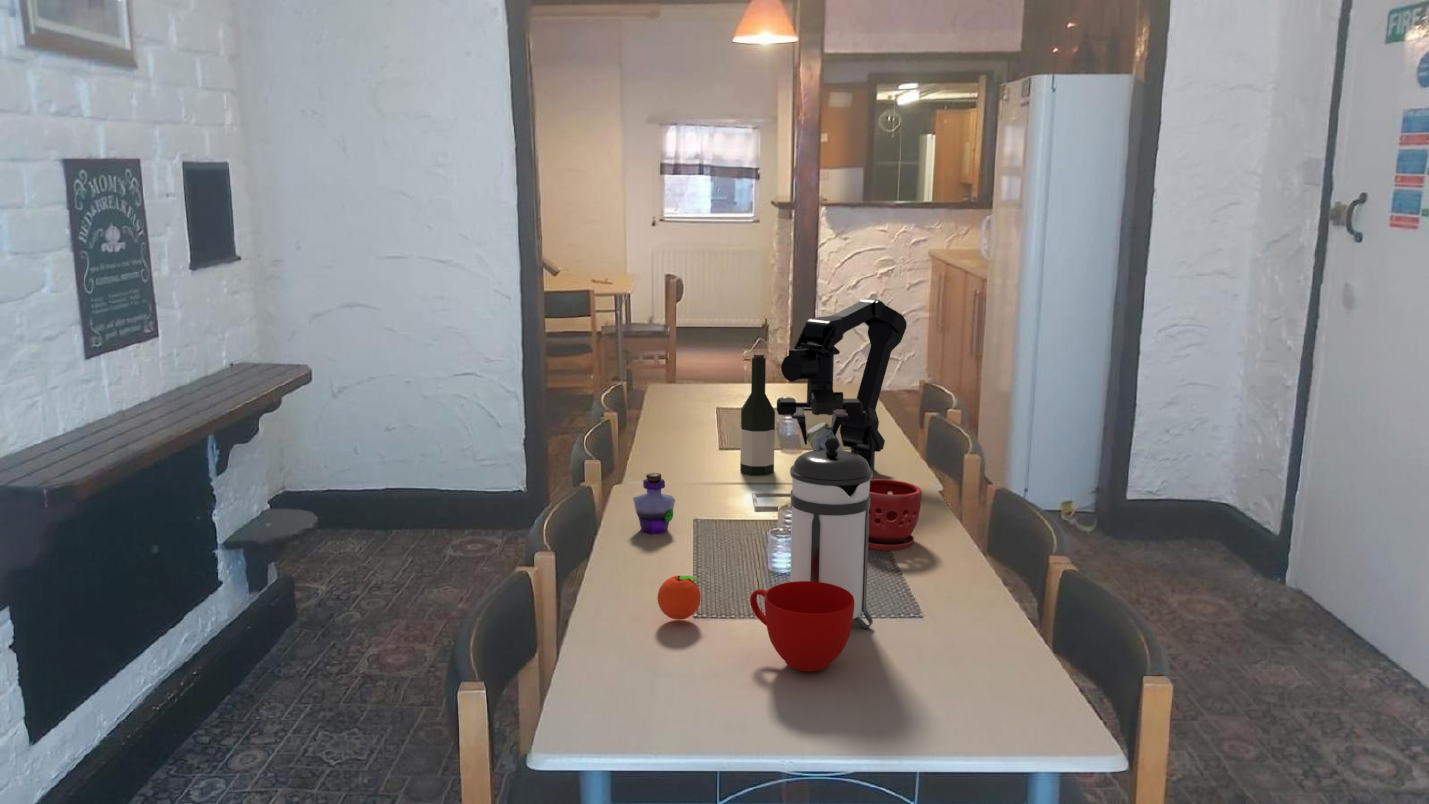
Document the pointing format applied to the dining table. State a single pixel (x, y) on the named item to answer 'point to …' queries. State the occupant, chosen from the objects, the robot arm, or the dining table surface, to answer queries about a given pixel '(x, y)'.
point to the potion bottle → (654, 506)
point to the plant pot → (892, 514)
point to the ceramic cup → (806, 622)
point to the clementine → (679, 597)
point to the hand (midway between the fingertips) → (818, 444)
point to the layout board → (770, 508)
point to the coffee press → (831, 521)
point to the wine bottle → (757, 425)
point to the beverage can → (820, 436)
